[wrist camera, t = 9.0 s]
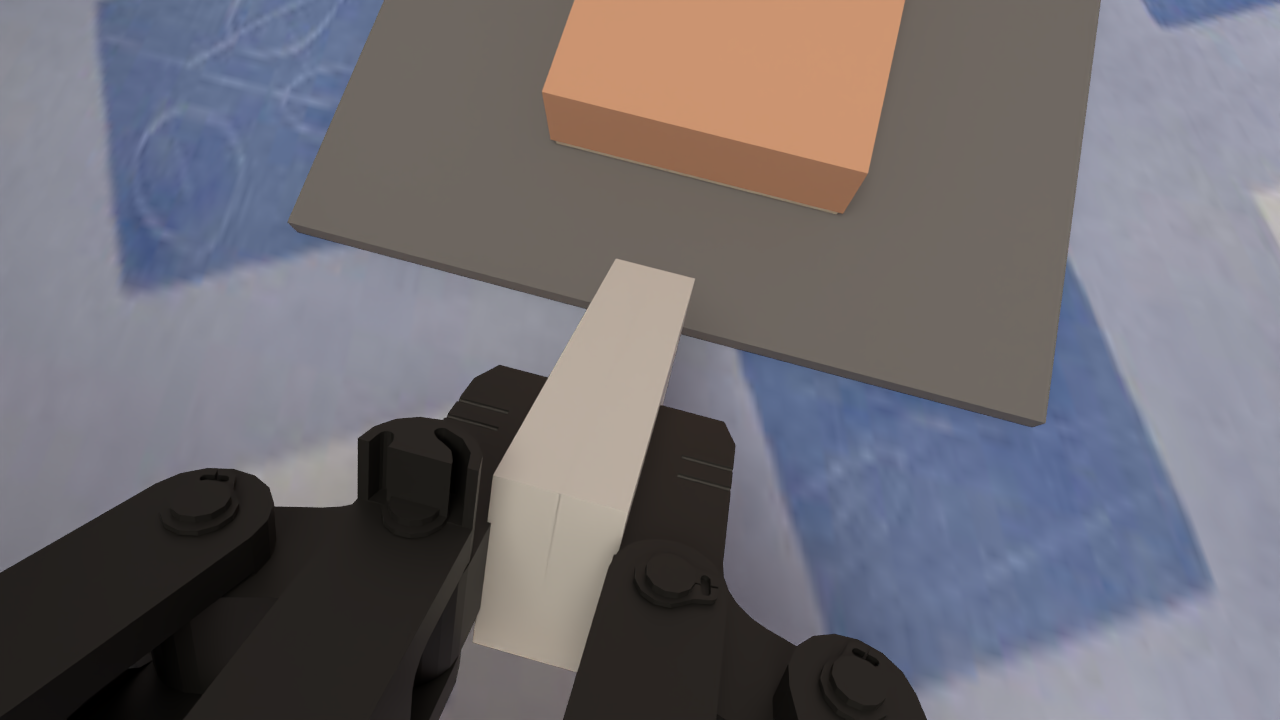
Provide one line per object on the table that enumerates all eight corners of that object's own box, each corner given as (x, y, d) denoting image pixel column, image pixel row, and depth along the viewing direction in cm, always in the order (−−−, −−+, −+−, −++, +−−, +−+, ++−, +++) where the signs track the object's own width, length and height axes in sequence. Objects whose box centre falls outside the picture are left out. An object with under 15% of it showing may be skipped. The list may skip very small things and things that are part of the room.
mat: (1032, 427, 19) (1045, 422, 18) (297, 231, 20) (287, 222, 19) (1102, -89, 23) (1114, -106, 23) (494, -227, 24) (491, -246, 24)
